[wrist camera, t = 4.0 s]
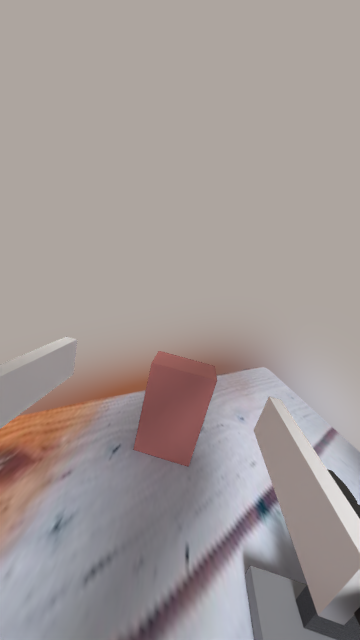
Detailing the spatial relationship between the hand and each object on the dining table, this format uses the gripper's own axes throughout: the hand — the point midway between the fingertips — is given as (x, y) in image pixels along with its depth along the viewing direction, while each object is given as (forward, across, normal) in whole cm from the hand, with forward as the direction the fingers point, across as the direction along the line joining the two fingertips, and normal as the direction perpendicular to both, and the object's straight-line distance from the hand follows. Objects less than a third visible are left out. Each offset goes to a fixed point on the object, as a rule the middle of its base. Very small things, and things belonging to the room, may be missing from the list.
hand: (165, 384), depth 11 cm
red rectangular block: (+10, +2, -18) cm, 20 cm away
